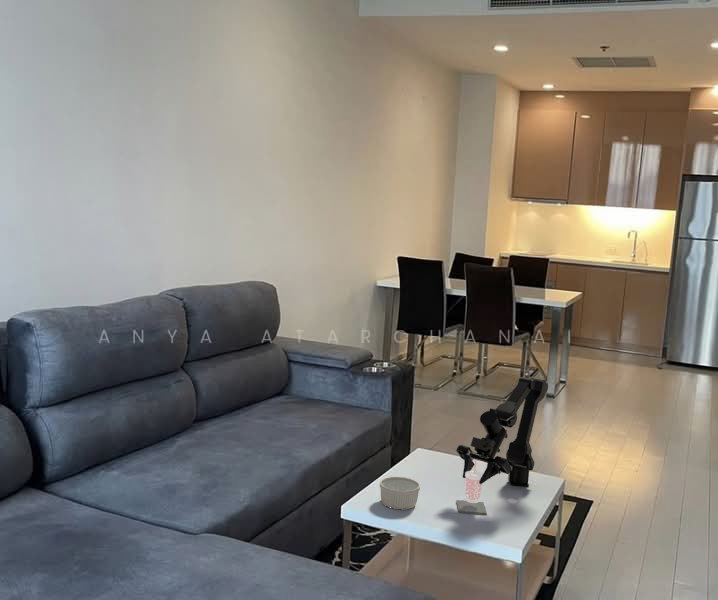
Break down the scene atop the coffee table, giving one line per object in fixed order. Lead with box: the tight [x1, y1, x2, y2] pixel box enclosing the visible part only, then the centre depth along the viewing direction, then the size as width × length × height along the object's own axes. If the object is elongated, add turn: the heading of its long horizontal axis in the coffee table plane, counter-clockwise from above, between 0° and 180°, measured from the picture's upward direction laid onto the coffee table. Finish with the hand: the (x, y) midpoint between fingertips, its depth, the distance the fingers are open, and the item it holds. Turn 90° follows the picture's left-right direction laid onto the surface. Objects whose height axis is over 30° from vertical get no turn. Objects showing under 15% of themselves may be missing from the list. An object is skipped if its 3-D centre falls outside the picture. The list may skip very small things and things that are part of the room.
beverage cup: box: [464, 459, 483, 503], centre depth 241 cm, size 6×6×14 cm
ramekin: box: [379, 476, 421, 510], centre depth 241 cm, size 13×13×7 cm
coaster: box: [455, 499, 488, 516], centre depth 242 cm, size 9×9×1 cm
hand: (471, 480), depth 240 cm, fingers closed on beverage cup, 6 cm apart
